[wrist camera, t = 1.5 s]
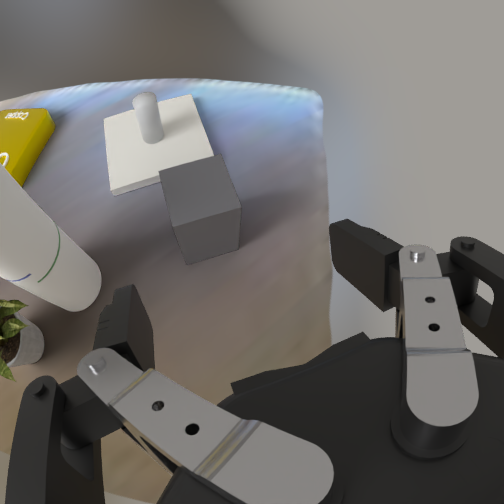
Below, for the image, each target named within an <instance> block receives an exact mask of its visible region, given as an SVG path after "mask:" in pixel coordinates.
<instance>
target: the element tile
mask: <svg viewBox="0 0 504 504" xmlns="http://www.w3.org/2000/svg"><path fill="white" fill-rule="evenodd" d="M54 130H55V123H54V121H53V120H52V118H51V116H50V114H49V112H48V110H46V109H44V108H32V109H9V110H3V111H0V163H1V164H2V166H3V167H4V168H5V169H6V170H7V171H8V173H9V174H10V175H11V176H12V177H13V178H14V179H15V181H16V182H17V183H18V184H19V185H20V186H21V187H22V186H23V184H24V182H25V180H26V178H27V176H28V174H29V173H30V171H31V169H32V167H33V165H34V164H35V162H36V160H37V158H38V157H39V155H40V153H41V151H42V150H43V148H44V146H45V145H46V143H47V141H48V140H49V138H50V137H51V135H52V134H53V132H54Z"/></svg>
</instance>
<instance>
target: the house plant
mask: <svg viewBox="0 0 504 504" xmlns="http://www.w3.org/2000/svg"><path fill="white" fill-rule="evenodd" d="M25 306H28V305H25V304H24V303H22V302H20V301H19V300H10V301H6V300H0V375H2V376H3V377H5V378H7V379H10V380H13V381H15V380H14V378H13V376H12V373H11V371H10V369H9V367H15V366H21V365H27V364H32V363H35V362H37V361H38V360H39V359H40V358H41V356H42V354H43V351H44V338H43V335H42V332H41V331H40V329H39V328H38V327H37V326H36V325H35V324H33V323H32V322H30V321H29V320H27V319H26V318H24V317H23V316H22V315H20V314H19V313H17V311H19V310H20V309H21V308H23V307H25Z"/></svg>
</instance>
